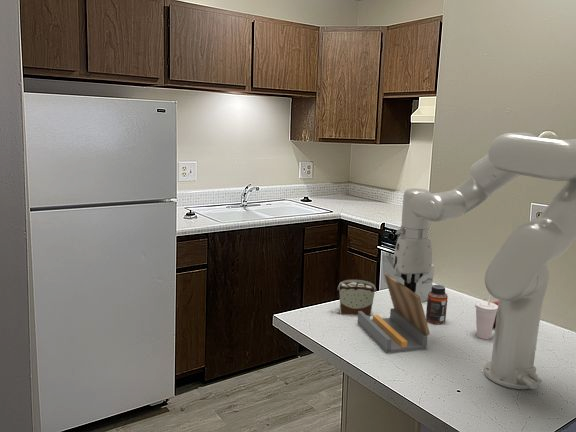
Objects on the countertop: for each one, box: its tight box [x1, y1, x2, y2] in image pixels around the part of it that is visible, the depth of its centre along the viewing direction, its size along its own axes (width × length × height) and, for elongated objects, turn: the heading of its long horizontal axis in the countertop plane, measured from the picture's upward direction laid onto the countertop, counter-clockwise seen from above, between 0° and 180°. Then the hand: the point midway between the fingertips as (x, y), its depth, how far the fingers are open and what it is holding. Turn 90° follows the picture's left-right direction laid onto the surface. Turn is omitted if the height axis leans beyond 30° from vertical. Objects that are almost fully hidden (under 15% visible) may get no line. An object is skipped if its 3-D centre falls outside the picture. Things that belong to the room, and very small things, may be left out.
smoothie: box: [474, 292, 498, 340], centre depth 149 cm, size 6×6×14 cm
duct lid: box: [383, 273, 431, 337], centre depth 148 cm, size 20×12×1 cm
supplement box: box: [402, 263, 435, 303], centre depth 178 cm, size 7×7×13 cm
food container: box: [337, 279, 377, 317], centre depth 165 cm, size 12×6×10 cm, turn 84°
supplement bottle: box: [425, 284, 449, 325], centre depth 160 cm, size 6×6×11 cm
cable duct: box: [357, 307, 428, 354], centre depth 149 cm, size 20×12×4 cm, turn 15°
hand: (409, 294), depth 148 cm, fingers closed
